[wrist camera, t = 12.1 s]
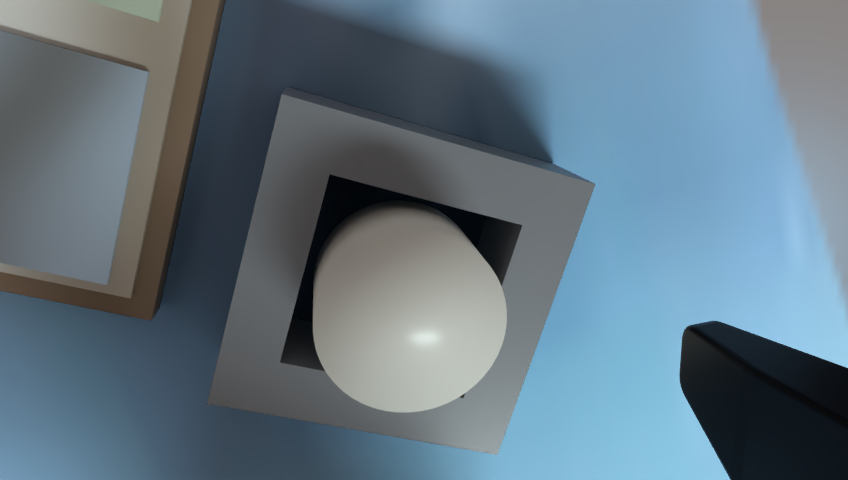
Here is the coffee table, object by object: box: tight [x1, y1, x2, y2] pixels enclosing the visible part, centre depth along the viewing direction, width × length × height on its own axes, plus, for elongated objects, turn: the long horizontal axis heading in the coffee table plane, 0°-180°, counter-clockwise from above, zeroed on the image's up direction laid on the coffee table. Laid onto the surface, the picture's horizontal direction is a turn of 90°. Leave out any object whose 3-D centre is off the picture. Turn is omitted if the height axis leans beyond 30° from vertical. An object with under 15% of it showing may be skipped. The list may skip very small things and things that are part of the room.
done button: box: [313, 200, 507, 413], centre depth 16 cm, size 4×4×3 cm
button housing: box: [207, 87, 595, 455], centre depth 18 cm, size 8×8×3 cm
